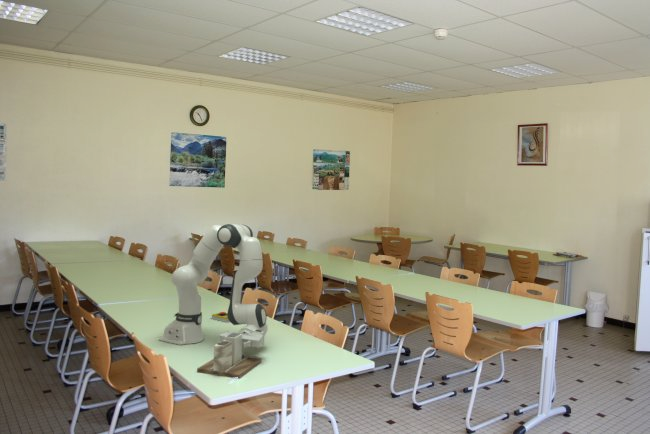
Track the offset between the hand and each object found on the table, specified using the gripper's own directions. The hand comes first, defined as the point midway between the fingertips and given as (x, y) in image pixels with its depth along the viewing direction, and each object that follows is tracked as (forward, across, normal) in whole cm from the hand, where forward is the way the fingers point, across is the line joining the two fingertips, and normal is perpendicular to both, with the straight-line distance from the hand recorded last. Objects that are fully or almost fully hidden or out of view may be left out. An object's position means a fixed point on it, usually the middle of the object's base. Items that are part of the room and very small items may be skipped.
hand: (233, 344), depth 239 cm
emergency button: (-69, -42, +10) cm, 82 cm away
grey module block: (0, 0, +8) cm, 8 cm away
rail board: (+3, 0, +10) cm, 10 cm away
